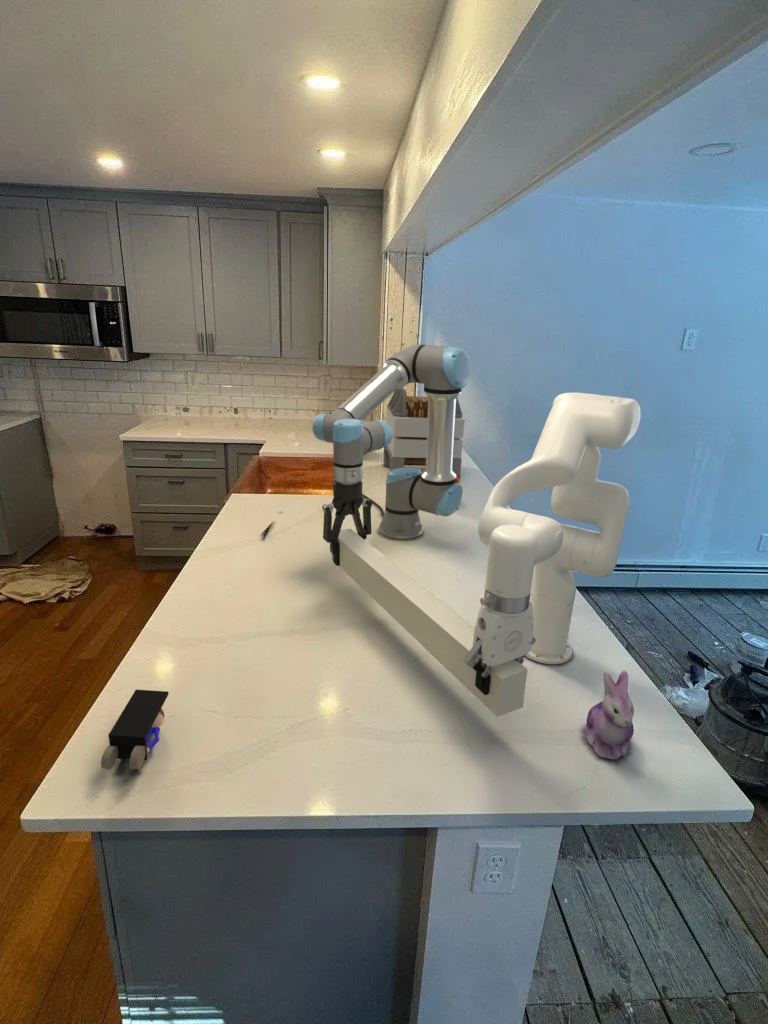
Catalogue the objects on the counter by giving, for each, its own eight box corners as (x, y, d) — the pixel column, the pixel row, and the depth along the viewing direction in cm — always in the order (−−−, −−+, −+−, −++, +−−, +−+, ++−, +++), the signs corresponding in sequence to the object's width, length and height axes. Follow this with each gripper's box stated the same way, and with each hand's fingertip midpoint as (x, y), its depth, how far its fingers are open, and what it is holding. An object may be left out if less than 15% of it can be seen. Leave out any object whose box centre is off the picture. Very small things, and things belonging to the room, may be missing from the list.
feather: (281, 515, 215) (284, 511, 215) (262, 541, 189) (264, 536, 188) (277, 512, 215) (280, 508, 215) (257, 538, 189) (260, 534, 188)
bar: (331, 559, 156) (331, 532, 153) (350, 555, 159) (350, 528, 156) (497, 717, 99) (501, 678, 96) (522, 707, 101) (527, 669, 98)
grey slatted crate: (382, 463, 289) (386, 382, 275) (445, 464, 293) (451, 384, 279) (390, 482, 257) (394, 392, 243) (460, 483, 261) (468, 394, 247)
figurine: (612, 770, 99) (628, 699, 94) (570, 732, 108) (582, 666, 103) (649, 753, 104) (666, 685, 99) (605, 718, 112) (619, 654, 107)
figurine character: (145, 787, 93) (174, 717, 107) (138, 755, 90) (169, 687, 103) (104, 787, 93) (138, 716, 107) (95, 754, 90) (132, 686, 103)
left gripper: (319, 489, 138) (320, 574, 147) (386, 480, 147) (384, 560, 155) (308, 480, 145) (309, 562, 153) (373, 472, 153) (371, 549, 161)
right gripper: (479, 620, 89) (470, 713, 95) (560, 596, 97) (546, 682, 103) (451, 598, 95) (445, 686, 101) (530, 577, 103) (518, 660, 109)
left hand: (347, 561), depth 154 cm, fingers closed on bar, 6 cm apart
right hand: (496, 684), depth 102 cm, fingers closed on bar, 5 cm apart
